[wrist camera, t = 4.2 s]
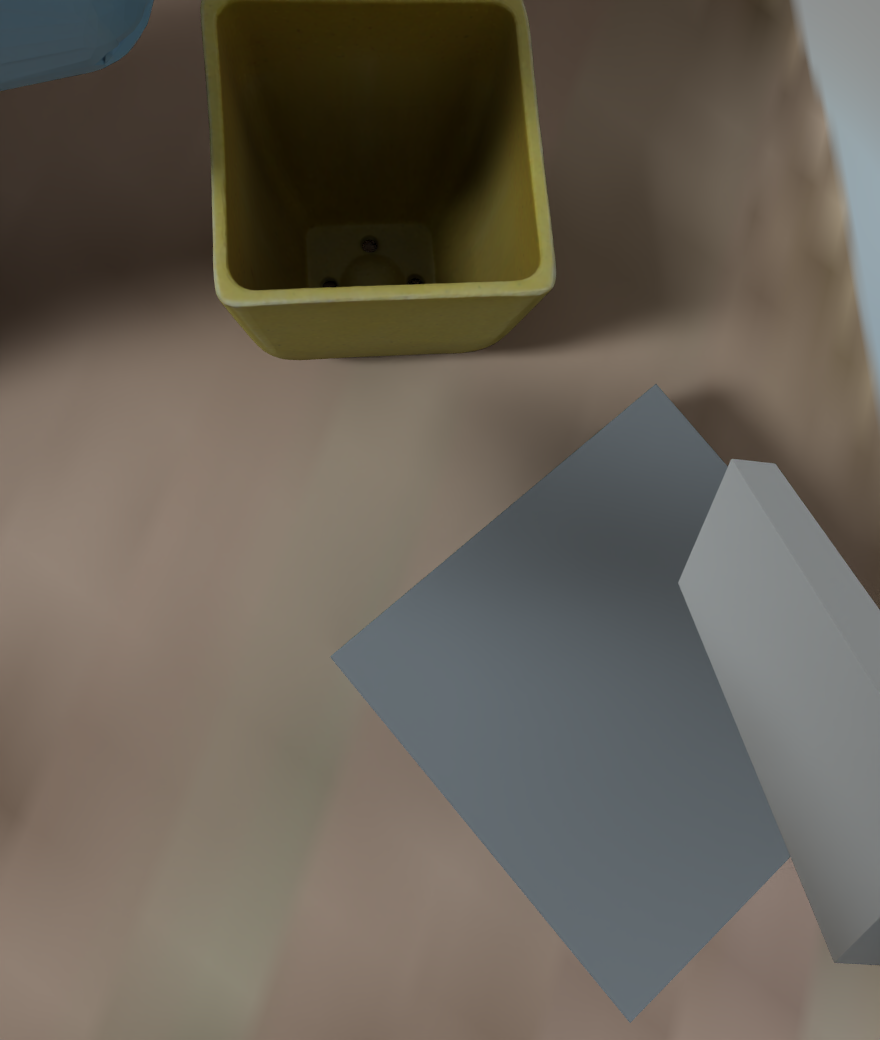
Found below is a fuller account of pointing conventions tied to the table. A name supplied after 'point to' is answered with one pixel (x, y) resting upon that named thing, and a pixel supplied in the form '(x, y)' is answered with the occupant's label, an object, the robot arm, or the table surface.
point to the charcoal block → (586, 705)
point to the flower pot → (375, 173)
